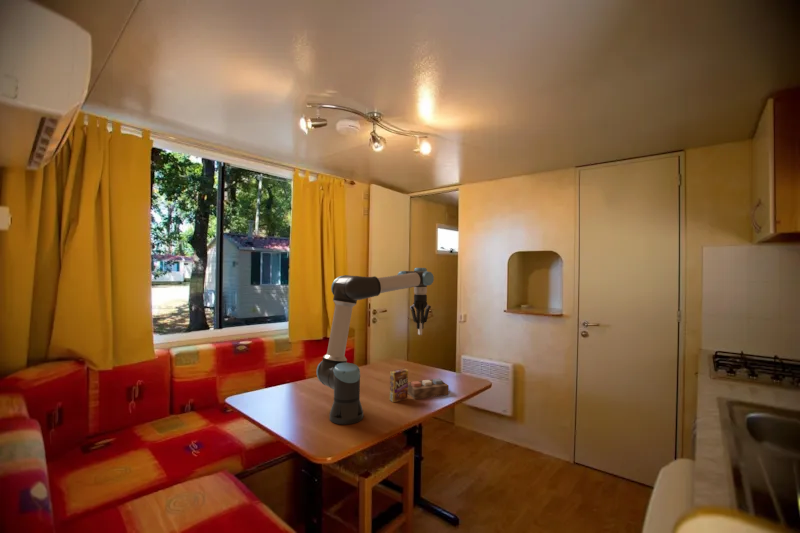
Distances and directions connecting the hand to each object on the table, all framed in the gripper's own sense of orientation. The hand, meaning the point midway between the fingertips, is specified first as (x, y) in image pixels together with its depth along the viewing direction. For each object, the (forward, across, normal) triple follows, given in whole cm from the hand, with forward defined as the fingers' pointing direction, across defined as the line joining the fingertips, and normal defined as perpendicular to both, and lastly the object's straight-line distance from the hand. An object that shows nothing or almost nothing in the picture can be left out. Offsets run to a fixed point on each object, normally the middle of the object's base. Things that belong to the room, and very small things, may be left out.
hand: (420, 334), depth 206 cm
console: (+29, -2, -14) cm, 33 cm away
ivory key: (+27, -2, -14) cm, 30 cm away
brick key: (+27, -9, -14) cm, 31 cm away
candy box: (+30, -20, -18) cm, 40 cm away
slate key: (+27, +5, -14) cm, 31 cm away
